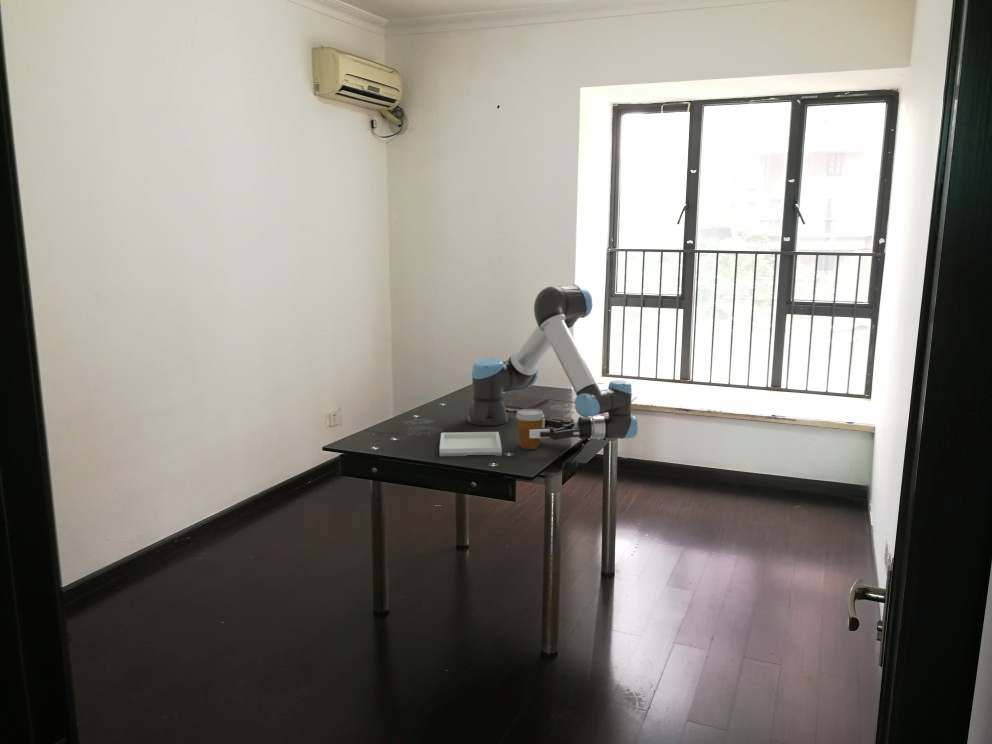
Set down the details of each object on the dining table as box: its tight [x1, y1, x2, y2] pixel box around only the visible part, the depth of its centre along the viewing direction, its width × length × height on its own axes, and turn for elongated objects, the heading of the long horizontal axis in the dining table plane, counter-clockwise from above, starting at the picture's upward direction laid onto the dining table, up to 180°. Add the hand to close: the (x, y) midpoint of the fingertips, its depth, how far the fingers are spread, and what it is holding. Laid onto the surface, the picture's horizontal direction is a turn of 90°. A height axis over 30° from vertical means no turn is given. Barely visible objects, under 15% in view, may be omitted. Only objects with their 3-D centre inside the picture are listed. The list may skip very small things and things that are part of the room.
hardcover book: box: [503, 394, 550, 413], centre depth 314 cm, size 16×23×2 cm
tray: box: [439, 431, 503, 457], centre depth 252 cm, size 20×20×2 cm
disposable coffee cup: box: [515, 408, 545, 450], centre depth 252 cm, size 10×10×12 cm
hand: (527, 428), depth 251 cm, fingers open, 13 cm apart
